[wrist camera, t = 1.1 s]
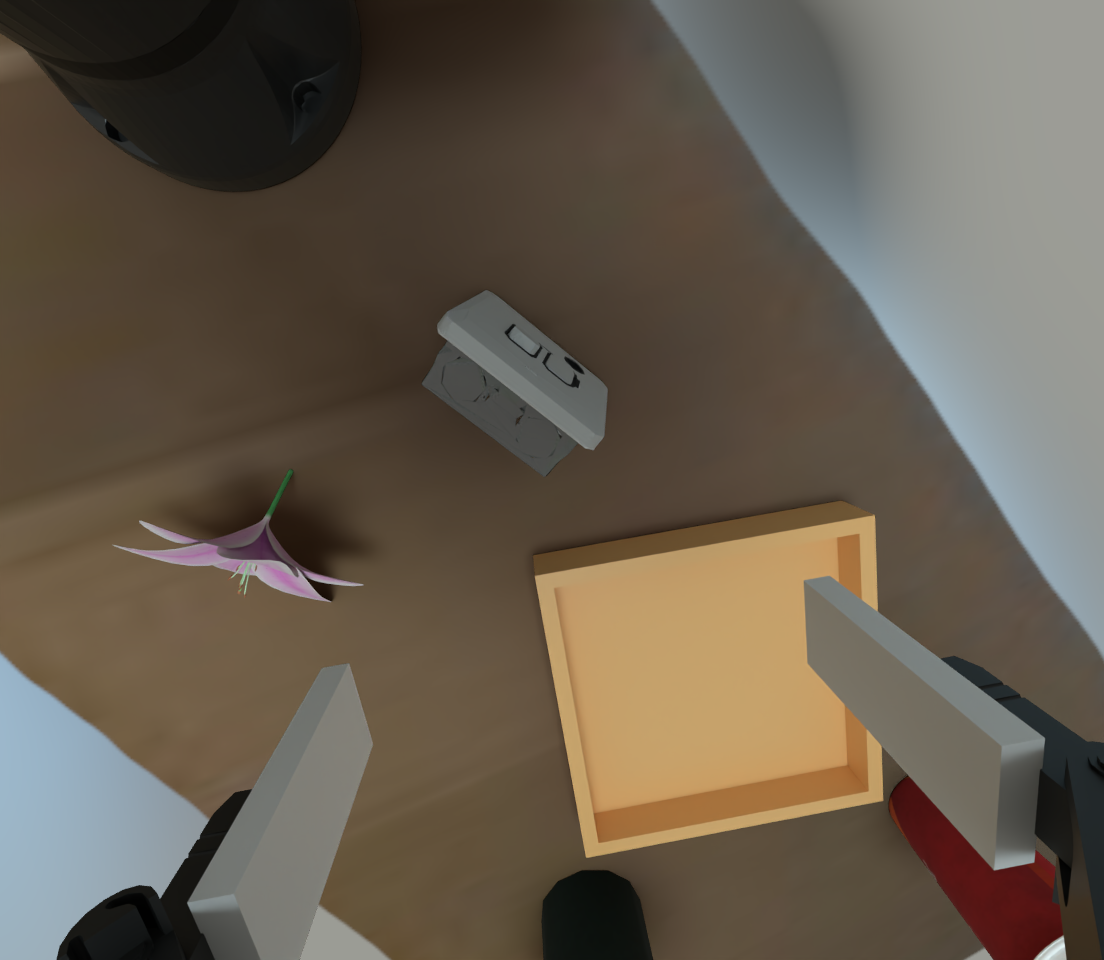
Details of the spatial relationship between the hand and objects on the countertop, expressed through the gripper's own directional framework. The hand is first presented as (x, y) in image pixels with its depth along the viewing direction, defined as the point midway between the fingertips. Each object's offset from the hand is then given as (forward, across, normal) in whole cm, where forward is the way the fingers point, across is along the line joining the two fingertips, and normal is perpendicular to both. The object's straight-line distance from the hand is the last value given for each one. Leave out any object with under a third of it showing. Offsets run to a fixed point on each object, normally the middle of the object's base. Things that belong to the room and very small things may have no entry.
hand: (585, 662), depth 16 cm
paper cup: (+20, +25, -30) cm, 44 cm away
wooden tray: (+20, +9, -15) cm, 27 cm away
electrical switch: (+21, 0, +7) cm, 22 cm away
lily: (+21, -17, 0) cm, 27 cm away
